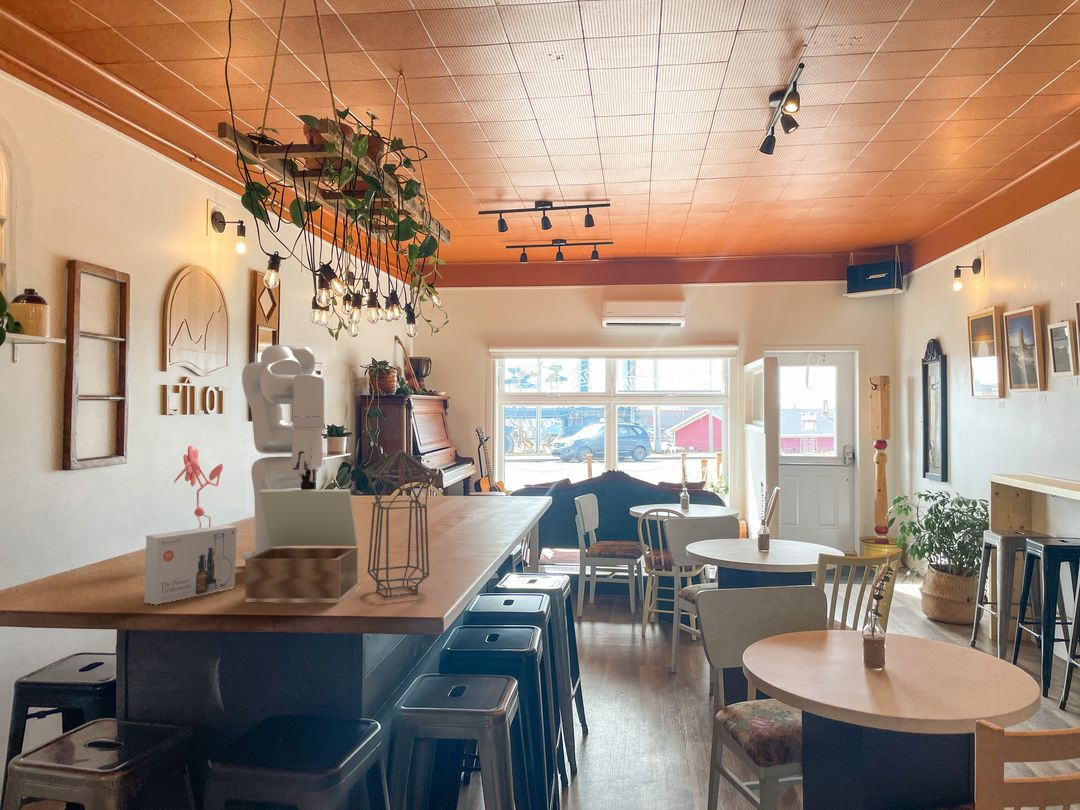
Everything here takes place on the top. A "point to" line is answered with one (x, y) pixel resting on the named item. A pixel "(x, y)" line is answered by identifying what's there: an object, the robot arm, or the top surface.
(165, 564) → the skincare box
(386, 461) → the geometric lantern
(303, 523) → the lid
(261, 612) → the top surface
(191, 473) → the figurine
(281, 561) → the walnut box
